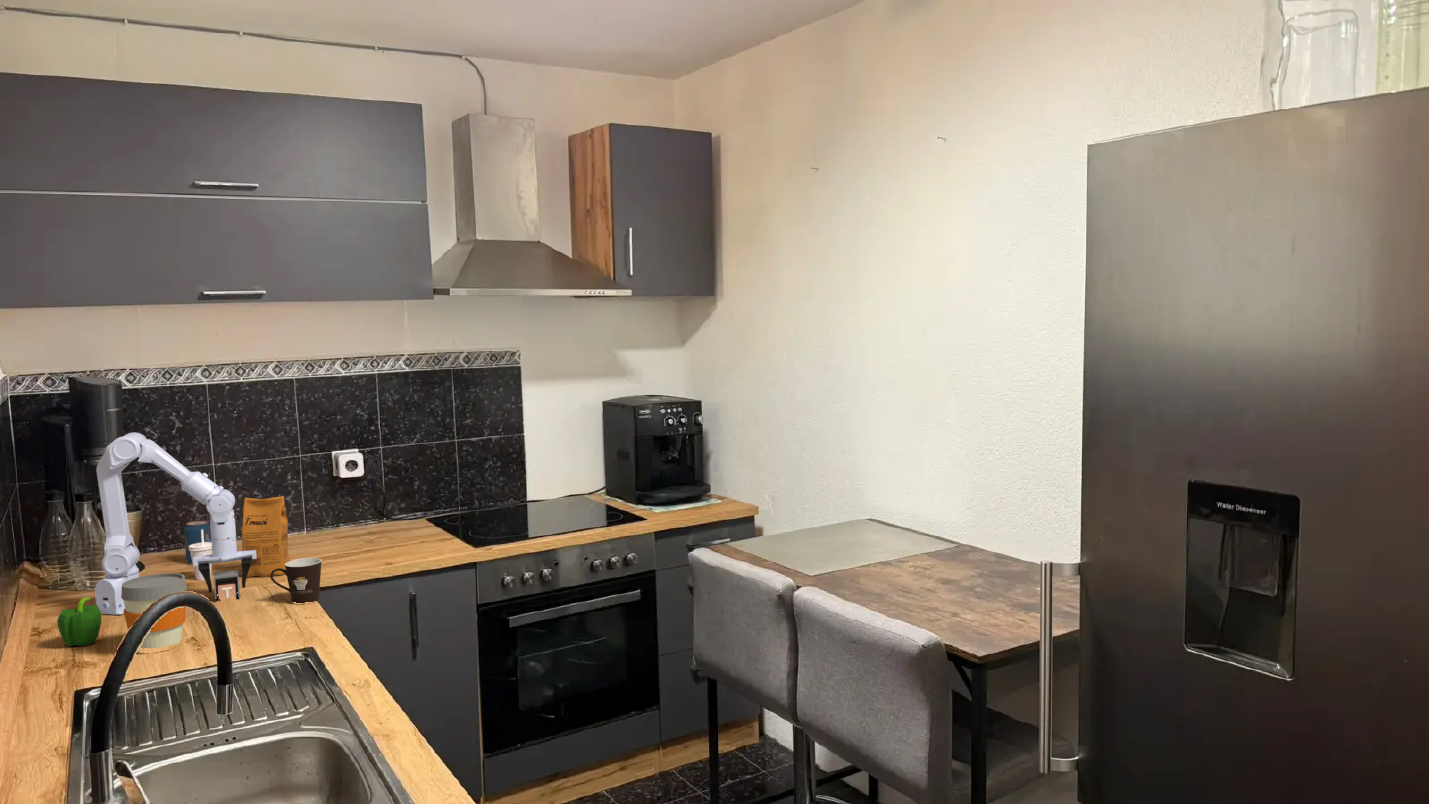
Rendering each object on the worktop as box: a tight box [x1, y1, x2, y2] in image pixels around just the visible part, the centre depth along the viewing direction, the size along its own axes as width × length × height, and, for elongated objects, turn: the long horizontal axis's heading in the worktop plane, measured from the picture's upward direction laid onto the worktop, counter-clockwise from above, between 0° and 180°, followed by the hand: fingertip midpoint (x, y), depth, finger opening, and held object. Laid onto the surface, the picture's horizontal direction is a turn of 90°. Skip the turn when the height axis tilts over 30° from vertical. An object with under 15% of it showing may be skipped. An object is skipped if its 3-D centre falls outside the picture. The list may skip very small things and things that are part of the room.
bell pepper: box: [56, 596, 102, 647], centre depth 213 cm, size 8×8×10 cm
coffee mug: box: [270, 557, 322, 603], centre depth 243 cm, size 12×9×10 cm
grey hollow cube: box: [213, 569, 241, 600], centre depth 246 cm, size 6×6×6 cm
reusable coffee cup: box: [121, 572, 188, 652], centre depth 210 cm, size 13×13×15 cm
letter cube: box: [218, 580, 237, 600], centre depth 246 cm, size 4×4×4 cm
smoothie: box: [188, 529, 213, 581], centre depth 265 cm, size 6×6×14 cm
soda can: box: [183, 520, 211, 565], centre depth 284 cm, size 7×7×12 cm
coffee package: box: [241, 495, 291, 578], centre depth 269 cm, size 10×12×22 cm
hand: (227, 589), depth 246 cm, fingers open, 7 cm apart
